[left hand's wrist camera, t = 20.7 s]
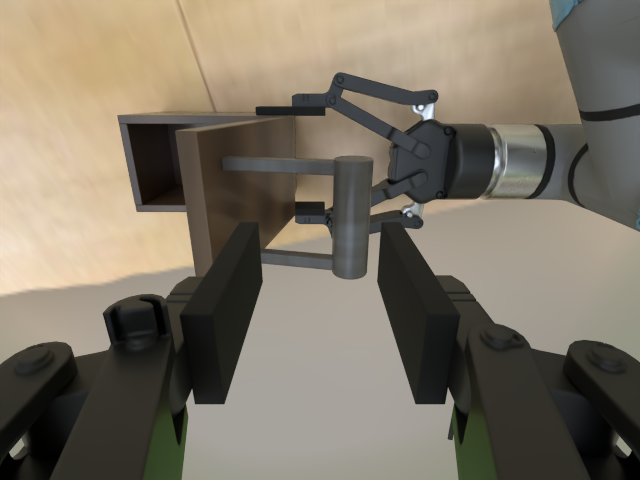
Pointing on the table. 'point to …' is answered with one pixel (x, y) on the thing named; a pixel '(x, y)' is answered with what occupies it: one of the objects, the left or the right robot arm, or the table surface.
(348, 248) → the lid
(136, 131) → the chest
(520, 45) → the table surface
